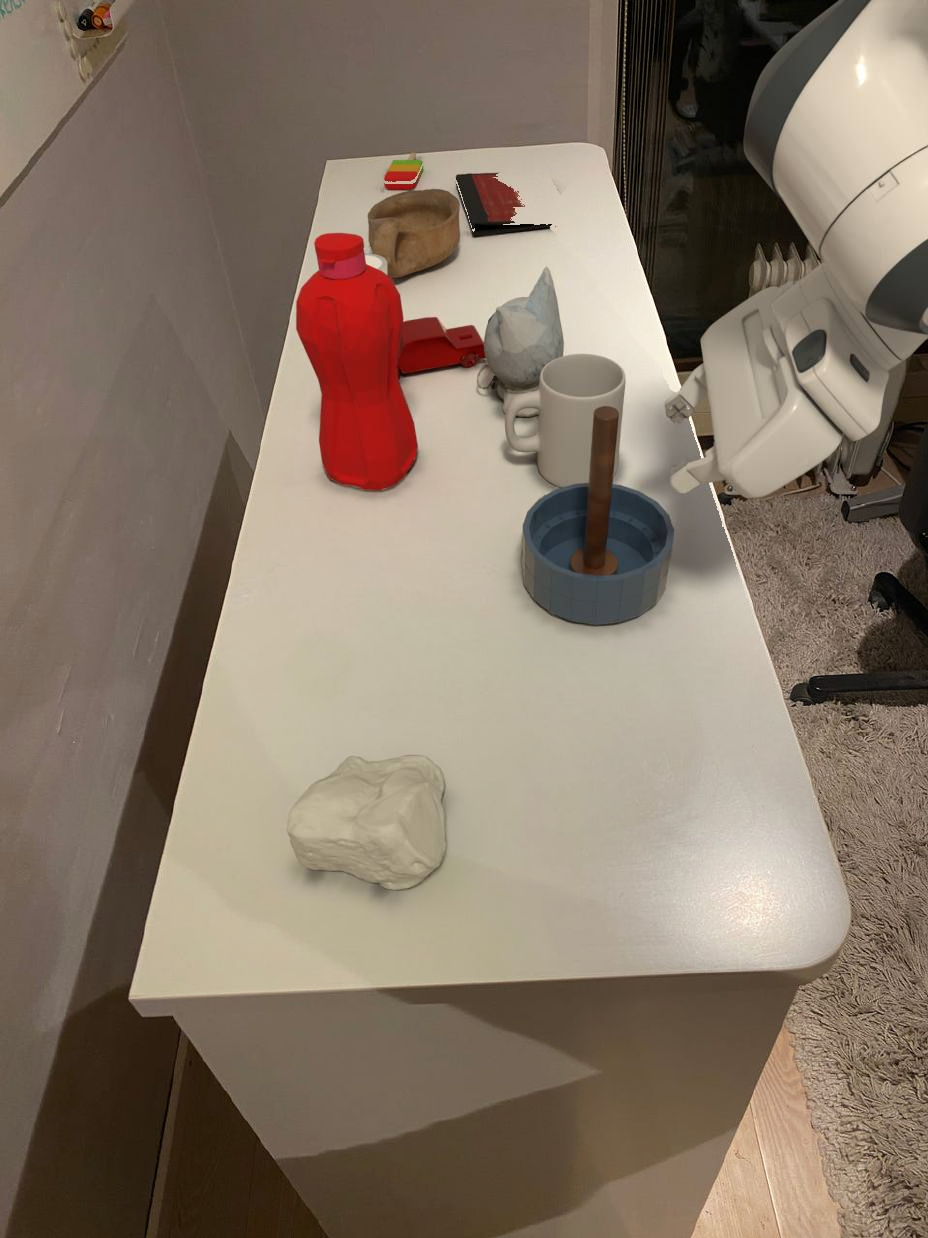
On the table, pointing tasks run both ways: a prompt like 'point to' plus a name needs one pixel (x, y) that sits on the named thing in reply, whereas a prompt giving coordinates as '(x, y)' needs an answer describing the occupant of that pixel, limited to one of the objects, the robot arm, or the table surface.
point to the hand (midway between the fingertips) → (671, 447)
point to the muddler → (599, 497)
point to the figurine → (523, 342)
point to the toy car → (437, 345)
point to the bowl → (414, 229)
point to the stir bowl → (632, 538)
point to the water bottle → (356, 365)
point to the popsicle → (403, 173)
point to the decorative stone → (373, 821)
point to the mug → (568, 415)
